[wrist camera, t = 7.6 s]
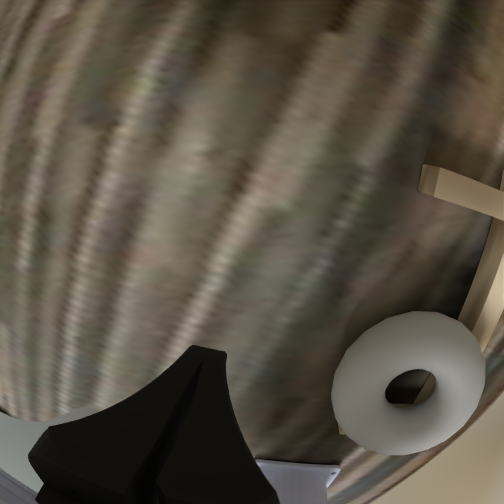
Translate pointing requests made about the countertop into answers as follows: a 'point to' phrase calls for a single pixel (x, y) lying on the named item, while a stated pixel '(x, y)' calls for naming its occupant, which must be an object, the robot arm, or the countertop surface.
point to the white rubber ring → (396, 362)
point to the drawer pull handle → (492, 261)
